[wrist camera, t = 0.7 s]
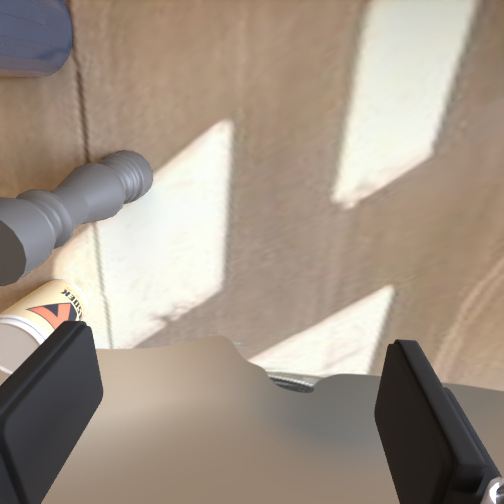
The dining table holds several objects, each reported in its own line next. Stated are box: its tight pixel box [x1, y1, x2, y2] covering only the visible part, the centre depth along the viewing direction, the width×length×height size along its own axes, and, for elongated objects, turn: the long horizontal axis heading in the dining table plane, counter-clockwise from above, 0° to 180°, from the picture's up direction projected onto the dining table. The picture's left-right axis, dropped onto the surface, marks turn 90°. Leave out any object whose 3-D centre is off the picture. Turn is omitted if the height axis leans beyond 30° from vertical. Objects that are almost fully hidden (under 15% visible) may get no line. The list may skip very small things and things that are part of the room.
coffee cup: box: [0, 280, 88, 374], centre depth 51 cm, size 9×9×12 cm
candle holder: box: [0, 150, 153, 286], centre depth 36 cm, size 6×6×25 cm
